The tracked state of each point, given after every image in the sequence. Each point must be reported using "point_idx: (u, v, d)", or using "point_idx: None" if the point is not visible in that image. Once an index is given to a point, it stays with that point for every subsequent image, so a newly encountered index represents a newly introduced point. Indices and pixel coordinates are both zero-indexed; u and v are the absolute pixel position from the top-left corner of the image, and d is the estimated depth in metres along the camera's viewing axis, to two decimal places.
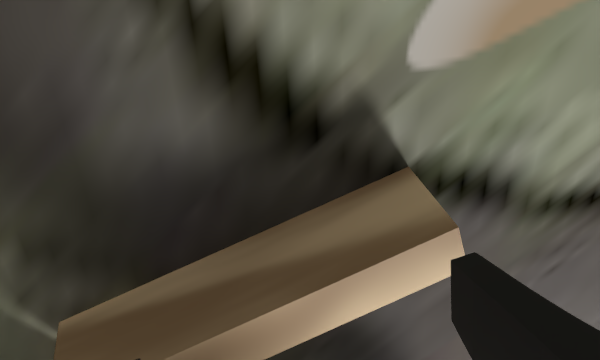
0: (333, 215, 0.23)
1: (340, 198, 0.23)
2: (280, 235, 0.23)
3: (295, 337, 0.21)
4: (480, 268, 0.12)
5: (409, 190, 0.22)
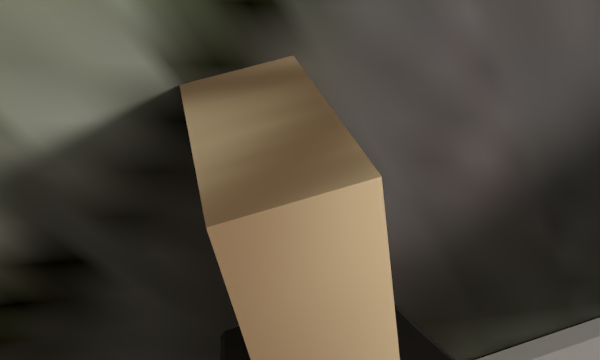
0: None
1: None
2: None
3: None
4: None
5: None
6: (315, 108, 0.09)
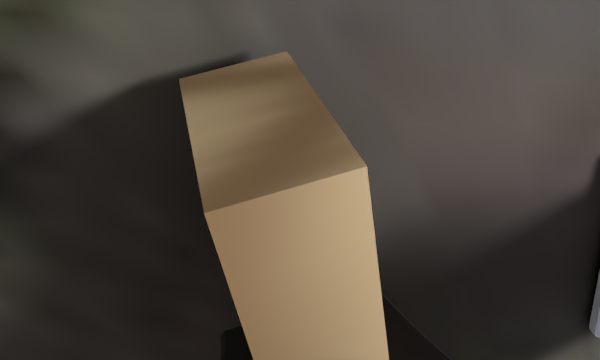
0: None
1: None
2: None
3: None
4: None
5: None
6: (307, 103, 0.09)
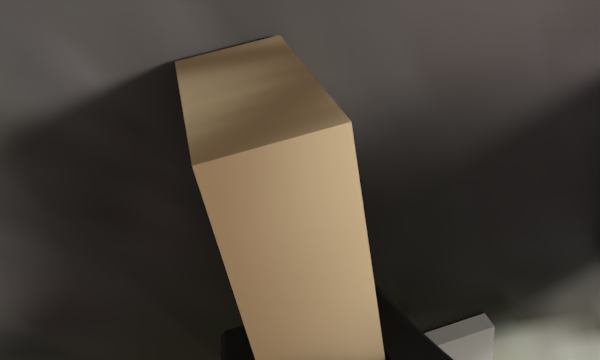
0: None
1: None
2: None
3: None
4: None
5: None
6: (297, 74, 0.09)
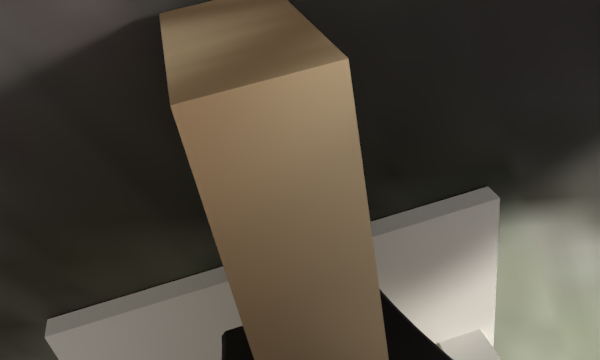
0: None
1: None
2: None
3: None
4: None
5: None
6: (289, 19, 0.09)
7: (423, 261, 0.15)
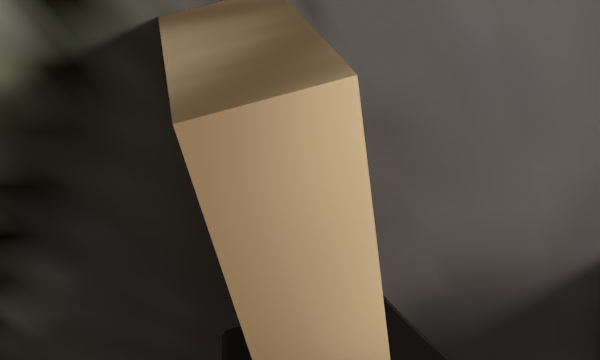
0: None
1: None
2: None
3: None
4: None
5: None
6: (294, 26, 0.08)
7: None
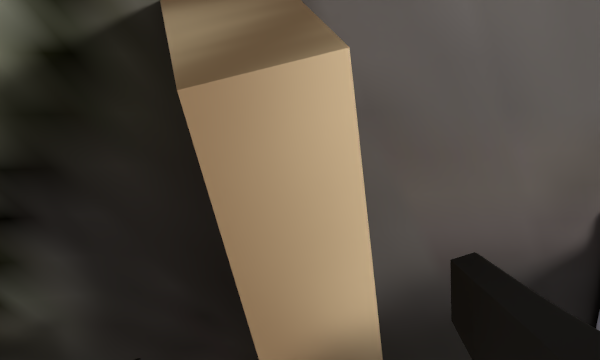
0: None
1: None
2: None
3: None
4: (480, 268, 0.12)
5: None
6: (290, 6, 0.09)
7: None
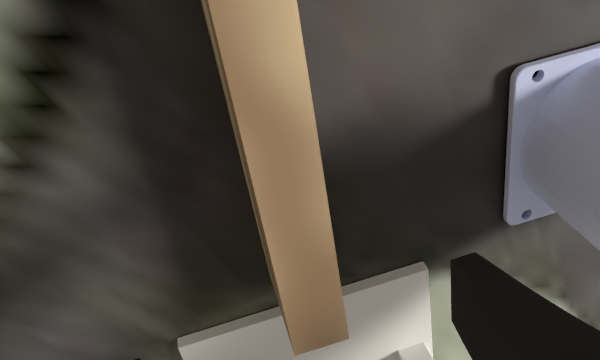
0: (206, 18, 0.17)
1: None
2: (222, 82, 0.19)
3: (305, 143, 0.16)
4: (480, 268, 0.12)
5: None
6: None
7: (385, 304, 0.26)
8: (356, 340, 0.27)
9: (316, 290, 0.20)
